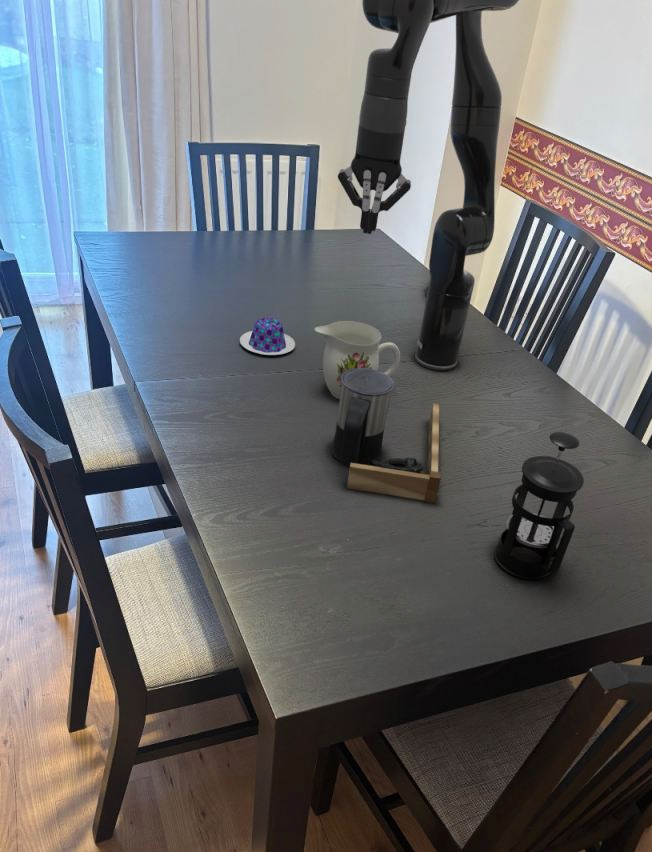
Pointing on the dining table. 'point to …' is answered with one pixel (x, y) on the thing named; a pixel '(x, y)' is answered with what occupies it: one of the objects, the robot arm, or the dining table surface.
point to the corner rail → (403, 473)
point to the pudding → (267, 338)
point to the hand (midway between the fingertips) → (367, 232)
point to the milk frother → (365, 420)
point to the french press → (535, 530)
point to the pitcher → (352, 351)
